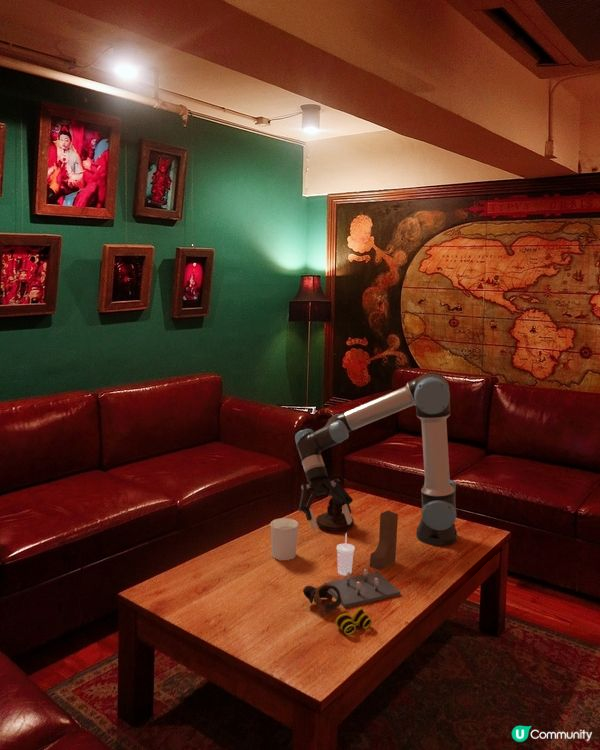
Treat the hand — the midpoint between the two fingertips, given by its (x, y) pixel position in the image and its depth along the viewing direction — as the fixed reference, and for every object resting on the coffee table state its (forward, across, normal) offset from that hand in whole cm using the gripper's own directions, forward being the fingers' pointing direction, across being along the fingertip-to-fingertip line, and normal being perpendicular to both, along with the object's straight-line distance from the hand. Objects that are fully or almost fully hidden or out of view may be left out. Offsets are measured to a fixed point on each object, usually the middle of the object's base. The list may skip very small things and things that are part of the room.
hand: (332, 525), depth 224 cm
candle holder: (+2, +13, -17) cm, 22 cm away
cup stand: (+24, 0, +6) cm, 25 cm away
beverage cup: (+15, -1, -4) cm, 16 cm away
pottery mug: (+27, +16, +8) cm, 32 cm away
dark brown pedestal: (-9, -16, -29) cm, 34 cm away
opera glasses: (+37, +13, +18) cm, 43 cm away
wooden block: (+15, -16, -4) cm, 22 cm away
